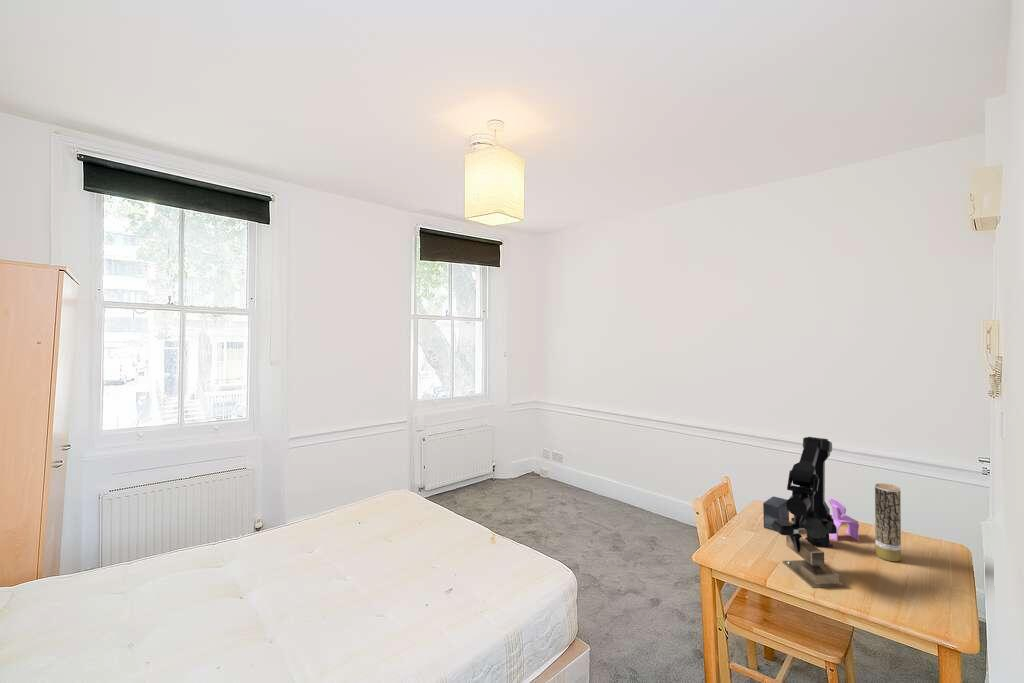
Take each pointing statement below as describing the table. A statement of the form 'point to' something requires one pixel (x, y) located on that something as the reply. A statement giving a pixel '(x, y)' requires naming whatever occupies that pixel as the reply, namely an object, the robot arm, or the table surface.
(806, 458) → the robot arm
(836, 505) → the toy chair
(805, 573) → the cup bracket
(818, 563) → the walnut rail
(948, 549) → the table surface
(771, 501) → the small box
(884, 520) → the log-patterned cylinder
